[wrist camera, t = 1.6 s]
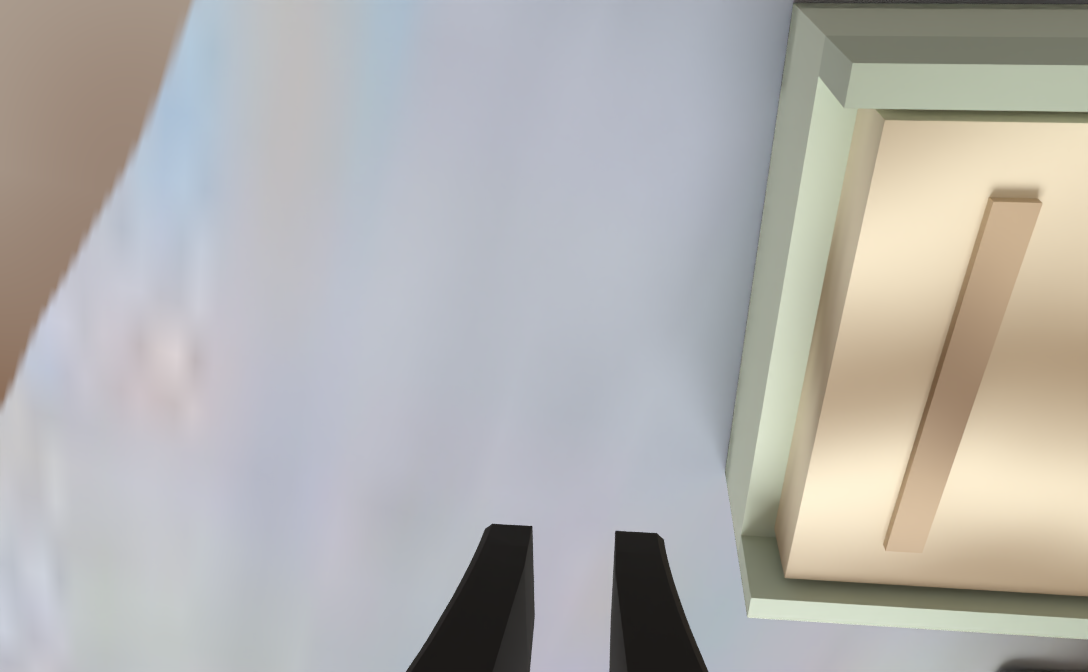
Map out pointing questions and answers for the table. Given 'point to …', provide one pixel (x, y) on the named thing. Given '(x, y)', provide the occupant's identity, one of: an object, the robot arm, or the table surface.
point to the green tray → (803, 248)
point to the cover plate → (949, 361)
